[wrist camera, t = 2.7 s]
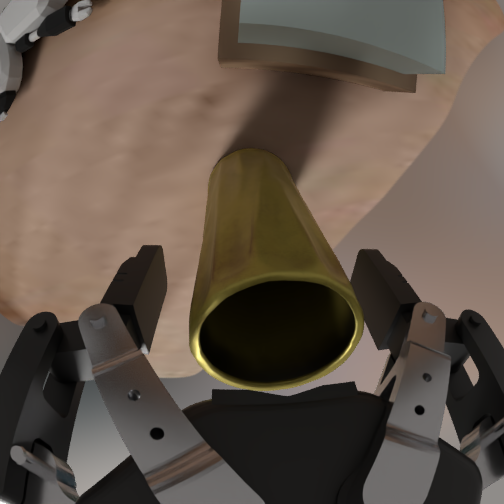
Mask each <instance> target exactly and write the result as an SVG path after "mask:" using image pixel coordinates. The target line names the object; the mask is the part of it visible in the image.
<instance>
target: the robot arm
mask: <svg viewBox="0 0 504 504" xmlns="http://www.w3.org/2000/svg"><path fill="white" fill-rule="evenodd" d="M350 283H351V285H352V287H353V290H354V293H355V296H356V298H357V300H358V302H359V304H360V306H361V308H362V310H363V314H364V321H365V323H366V325H367V327H368V329H369V331H370V334H371V336H372V338H373V340H374V342H375V345H376V347H377V349H378V350H384V349H390V354H389V355H388V357H387V360H386V363H385V366H384V369H383V371H382V374H381V377H380V379H379V382H378V385H377V387H376V390H375V392H374V394H371V393H367V392H362V391H357V388H356V385H355V382H346V383H338V384H330V385H322V386H319V387H316V388H314V389H311V390H307V391H305V392H301V393H298V394H295V395H292V396H281V395H275V394H269V393H264V392H258V391H253V390H219V389H213V390H212V399H210V400H205V401H202V402H199V403H195V404H193V405H190V406H188V407H186V408H185V409H183V410H181V409H180V408H179V407H178V405H177V404H176V403H175V401H174V400H173V398H172V397H171V395H170V394H169V393H168V391H167V390H166V388H165V387H164V385H163V384H162V382H161V381H160V379H159V378H158V376H157V374H156V373H155V371H154V370H153V368H152V367H151V365H150V363H149V362H148V360H147V358H146V357H145V355H144V354H149V352H150V348H151V344H152V341H153V337H154V333H155V330H156V326H157V323H158V319H159V316H160V312H161V309H162V305H163V302H164V299H165V295H166V292H167V275H166V269H165V262H164V255H163V249H162V246H161V245H143V246H142V247H141V249H140V251H139V252H138V254H137V256H136V257H130V258H129V259H128V260H126V261H125V262H124V263H123V264H122V265H121V266H120V268H119V270H118V271H117V274H116V275H115V277H114V279H113V281H112V282H111V284H110V286H109V288H108V289H107V291H106V293H105V295H104V297H103V299H102V300H101V302H100V304H96V305H93V306H90V307H89V308H87V309H86V310H84V311H83V312H82V314H81V315H80V317H79V320H77V321H71V322H64V323H59V321H58V319H57V317H56V316H55V315H54V314H53V313H51V312H41V313H38V314H36V315H34V316H33V317H32V318H30V319H29V321H28V322H27V323H26V325H25V327H24V329H23V330H22V332H21V334H20V336H19V338H18V339H17V342H16V343H15V345H14V347H13V349H12V351H11V353H10V355H9V358H8V359H7V361H6V364H5V366H4V368H3V370H2V372H1V374H0V504H480V500H481V495H482V490H483V489H485V488H487V487H488V486H490V485H491V484H492V483H494V482H496V481H498V480H499V479H501V478H503V477H504V348H503V347H502V345H501V343H500V342H499V340H498V339H497V337H496V336H495V334H494V332H493V331H492V329H491V328H490V326H489V325H488V324H487V322H486V321H485V319H484V318H483V317H482V316H481V315H480V314H479V313H477V312H475V311H473V310H464V311H463V312H462V313H461V315H460V317H459V319H458V320H456V319H450V318H446V317H445V315H444V313H443V312H442V310H441V309H439V308H438V307H437V306H435V305H433V304H432V303H428V302H422V301H421V300H420V299H419V297H418V296H417V294H416V293H415V292H414V290H413V289H412V287H411V286H410V285H409V283H407V281H406V279H405V278H404V277H402V274H401V273H400V271H399V270H398V269H397V268H396V267H395V266H394V265H393V264H391V263H390V262H388V261H386V259H385V258H384V257H383V255H382V254H381V253H380V252H379V251H378V250H377V249H361V250H360V251H359V252H358V255H357V259H356V263H355V266H354V270H353V273H352V277H351V281H350ZM469 356H471V358H472V359H473V361H474V363H475V365H476V367H477V369H478V371H479V379H478V382H477V384H476V385H475V386H474V387H473V384H472V382H471V381H470V378H469V376H468V374H467V372H466V370H465V368H464V366H463V364H464V363H465V362H466V360H467V359H468V358H469ZM48 371H49V372H50V374H49V377H48V379H47V382H46V384H45V387H44V390H43V385H44V382H45V379H46V377H47V374H48ZM88 380H95V382H96V384H97V387H98V389H99V392H100V394H101V396H102V399H103V401H104V403H105V405H106V407H107V409H108V412H109V414H110V416H111V418H112V420H113V422H114V424H115V426H116V428H117V430H118V432H119V434H120V436H121V438H122V440H123V441H124V443H125V445H126V447H127V449H128V450H129V452H130V454H131V455H130V456H129V457H127V458H126V459H125V460H124V461H123V462H122V463H120V464H119V465H118V466H117V467H116V468H115V469H113V470H112V471H111V472H110V473H108V474H107V475H106V476H105V477H104V478H102V479H101V480H100V481H99V482H97V483H96V484H95V485H94V486H92V487H91V488H90V489H88V490H87V491H86V492H85V493H83V494H82V495H81V496H80V497H79V495H78V493H77V491H76V482H75V476H74V473H73V471H72V469H71V467H70V466H69V465H68V464H67V457H68V451H69V446H70V441H71V437H72V432H73V427H74V422H75V419H76V414H77V410H78V406H79V403H80V398H81V395H82V391H83V388H84V384H85V381H88ZM445 404H446V405H447V408H448V410H449V413H450V416H451V418H452V421H453V424H454V427H455V430H456V433H457V435H458V439H459V441H460V450H457V449H456V448H454V447H453V446H451V445H450V444H448V443H447V442H445V441H444V440H442V439H441V438H439V434H440V429H441V425H442V420H443V414H444V410H445Z"/></svg>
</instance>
